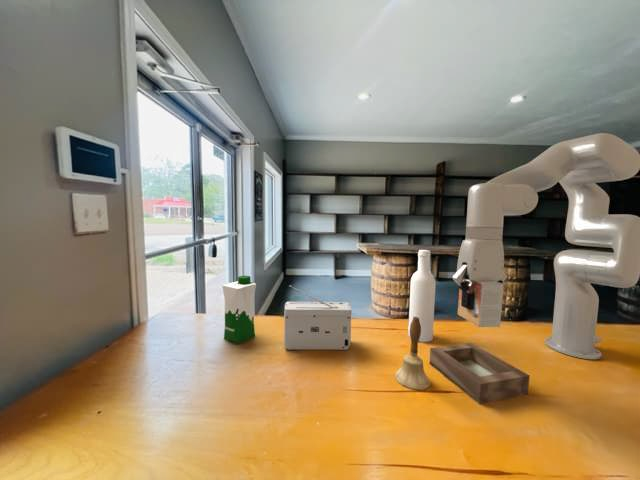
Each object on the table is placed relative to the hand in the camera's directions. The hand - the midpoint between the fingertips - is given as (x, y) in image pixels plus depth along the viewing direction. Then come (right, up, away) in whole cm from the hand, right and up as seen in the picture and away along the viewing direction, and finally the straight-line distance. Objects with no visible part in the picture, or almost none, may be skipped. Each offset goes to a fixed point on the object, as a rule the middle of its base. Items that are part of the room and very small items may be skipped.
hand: (478, 306), depth 63 cm
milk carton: (-66, -16, +21) cm, 72 cm away
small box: (0, -4, 0) cm, 4 cm away
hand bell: (-16, -19, 0) cm, 25 cm away
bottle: (-5, -17, +24) cm, 30 cm away
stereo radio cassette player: (-40, -17, +17) cm, 47 cm away
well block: (0, -18, +1) cm, 18 cm away
